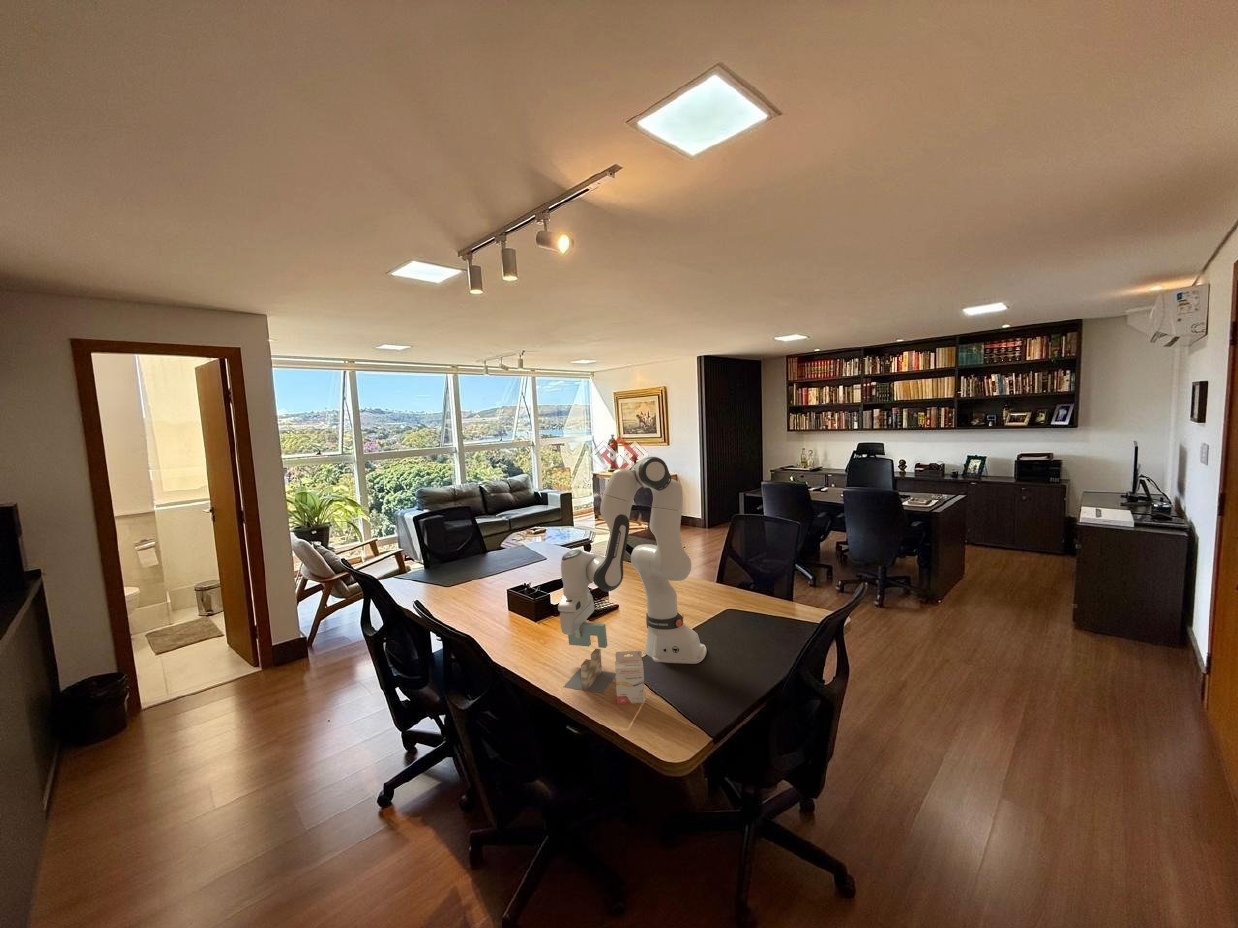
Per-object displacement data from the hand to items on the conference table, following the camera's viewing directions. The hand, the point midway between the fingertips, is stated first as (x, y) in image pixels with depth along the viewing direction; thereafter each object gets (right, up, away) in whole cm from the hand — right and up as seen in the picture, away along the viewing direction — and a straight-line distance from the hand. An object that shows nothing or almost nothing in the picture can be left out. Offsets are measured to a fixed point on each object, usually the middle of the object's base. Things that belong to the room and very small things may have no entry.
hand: (580, 634), depth 174 cm
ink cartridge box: (+17, -12, -23) cm, 31 cm away
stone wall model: (+5, -11, -11) cm, 16 cm away
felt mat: (+4, -12, -11) cm, 16 cm away
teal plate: (+3, -4, 0) cm, 4 cm away
